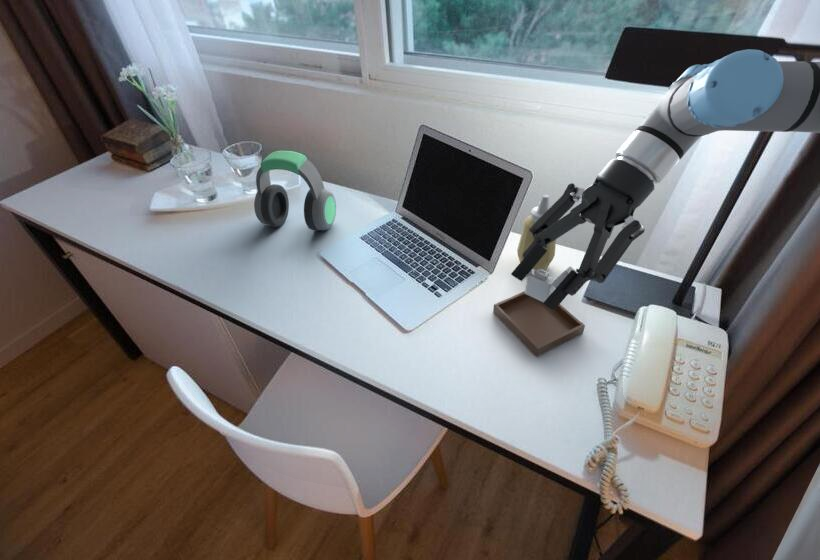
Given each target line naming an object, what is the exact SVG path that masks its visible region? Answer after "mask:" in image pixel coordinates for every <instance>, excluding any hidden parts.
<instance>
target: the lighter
mask: <svg viewBox="0 0 820 560" xmlns="http://www.w3.org/2000/svg"><path fill="white" fill-rule="evenodd" d="M571 270H574V271H575V272H576V269H574V268H573V267H572V266H570V265H569V266H568V267H567V268H566V269H565V270H564V271H563V272H562V273H560V274H559V276H557V277H556V278H554V277H552V276H550V272H549V271H546V270H545V271H544V270H542V269H538V270H534V269H532V270H531V271H530V272H529V273H528V274H527V276H526V283H525V289H524V291H525V294H527V295H529V296H531V297H533V298H535V299H537V300H539V301H541V302H544V301H545V300H546V299H547V298H548V297H549V296H550V295H551V293H552V292H553V291H554V289H556V288H557V286H558V285H559V284H560V283H561V282H562V281H563V280H564V278H565V277H566V276H567V275H568V274H569V273H570V271H571ZM576 273H577V272H576Z"/></svg>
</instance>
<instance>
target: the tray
mask: <svg viewBox="0 0 820 560" xmlns="http://www.w3.org/2000/svg"><path fill="white" fill-rule="evenodd" d="M492 313H493V314H494V315H495V316H496V317H497V319H499V321H500V322H501V323H502V324H503V325H505V327H506V328H507V329H509V331H510V332H511V333H512V334H513V335H514V336H515V337H516V338H517V339H518V340H519V341H520V342H521V343H522V344H523V345H524V346H525V347H526V348H527V350H529V351H530V352H531V353H532V355H533V356H535V358H538V357H540V356H542V355H543V354H546V353H548V352H550V351H551V350H554V349H555V348H557V347H559V346H561V345H563V344H566V343H567V342H569V341H571V340H573V339H575V338H577V337H579V336H581V335H583V333H584V330H585V327H586V325H585V324H584V323H583V322H582V321H581V320H579V318H577V317H576V316H575V315H574V314H572V313H571V312H570V311H569V310H568V309H567V308H565V307H564V306H563V305H562V304H561V303H560V304H559V305H558V306H557V308H556V309H555V310H553V309H551V308H550V307H548V306H546V305H545V304H544V302H541V301H539V300H537V299H535V298H533V297H531V296H529V295H527V294H525V290H524V291H522V292H519V293H517V294H515V295H512V296H510V297H508V298H506V299H503V300H502V301H499V302H497V303H495V304H493V310H492Z"/></svg>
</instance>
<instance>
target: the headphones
mask: <svg viewBox="0 0 820 560" xmlns="http://www.w3.org/2000/svg"><path fill="white" fill-rule="evenodd" d="M275 170H279V171H280V170H281V171H282V170H283V171H287V172H291V173H292V174H293V173H294V174H296V175H298V176H300V177H301V178H302V179H303V180H304V181H305V183H306V184H307V186H308V188H309V190H308V191H307V193H306V195H305V199H304V203H303V217H304V222H305V224H306V226H307V228H308V229H310V230H311V231H314V232H315V231H316V232H318V231H327V230H329V229H330V228H331V227H332V225H334V222H335V220H336V216H337V203H336V199H335V196H334V194H333V192H332V191H331V190H329V189H327V188H325V186H324V182H323V180H322V177H321V175H320V172H319V170H318V168H316V166H315V165H314V164H313V163H312V162H311V161H310V160H309V159H308V158H307V156H306V155H304V154H302V153H300V152H296V151H293V150H277V151H273V152H271V153H269V154H268V155H267V156H265V158H264V159H263V160H261V162H260V167H259V168H258V170H257V172H256V176H255V184H256V190H257V192H256V194H255V197H254V203H253V207H254V213H255V216H256V218H257V220H258V221H259V223H260V224H263V225H266V226H269V227H272V228H279V227H281V226H283V225H284V224H285V223H286V220H287V218H288V215H289V211H290V203H289V201H290V200H289V196H288V192H287V190H286V189H285V187H284V186H282V185H281V184H277V183H276V184H275V183H273V184H272V182H271V178H270V177H271V176H270V171H275Z"/></svg>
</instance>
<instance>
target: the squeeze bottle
mask: <svg viewBox="0 0 820 560" xmlns="http://www.w3.org/2000/svg"><path fill="white" fill-rule="evenodd" d="M550 207H551V206H550V195H549V194H542V196H541V199H540V201H539V203H538V205H537V206H534V207H532V208H531V211H530V215H529V216H526V218H525V220H524V224H523V226H522V230H521V234H520V239H519V242H518V245H517V250H516V251H517V252H516V253H517V257H518V261H519V263H520V262H521V261H522V260H523V259H524V257H523V253H524V252H525V251H526V249H527V248H528V247H529V246H530V245H531V243H532V242H533V241H534V236H533V234H532V233H531V232H530V228H531V226H532V225H533V224H534V223H535V222H536V221H537V220H538V219H539V218H540V217H541V216H542V215H543V214H544V213H545V212H546V211H547V210H548V209H549V208H550ZM556 245H557V239H556V240H554V241H552V242H551V243H549V244H548V245H547V248H545V249H546V250H547V252H546V253H545V254H544V255H543V257H542V258H541V259H540V260H539V261H538V263H537V264H536V265H535V266H534V267H533V268H532V269H534V270H538V269H542V270H544V271H546V270H547V269H548V267H549V266H550V264H551V263H552V261H553V260H554V258H555V256H556ZM543 248H544V247H543Z"/></svg>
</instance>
